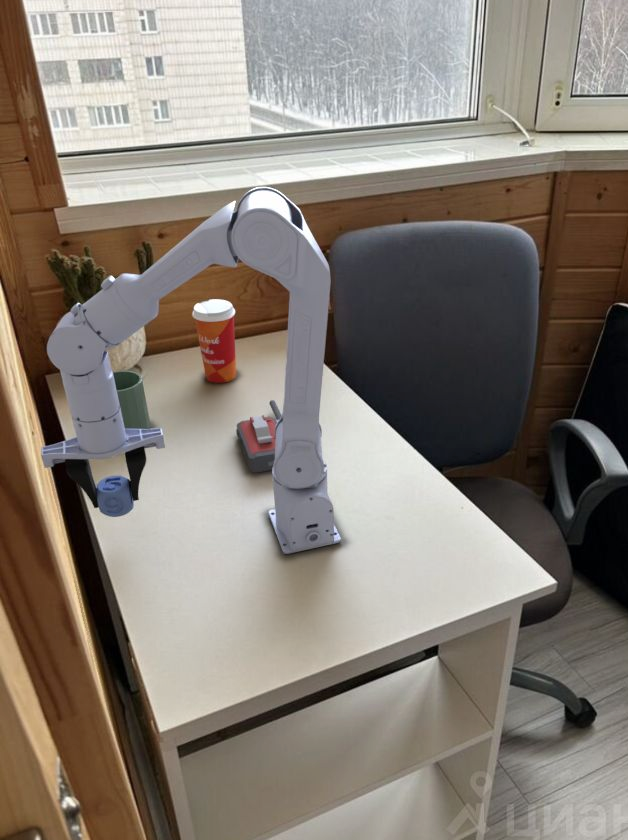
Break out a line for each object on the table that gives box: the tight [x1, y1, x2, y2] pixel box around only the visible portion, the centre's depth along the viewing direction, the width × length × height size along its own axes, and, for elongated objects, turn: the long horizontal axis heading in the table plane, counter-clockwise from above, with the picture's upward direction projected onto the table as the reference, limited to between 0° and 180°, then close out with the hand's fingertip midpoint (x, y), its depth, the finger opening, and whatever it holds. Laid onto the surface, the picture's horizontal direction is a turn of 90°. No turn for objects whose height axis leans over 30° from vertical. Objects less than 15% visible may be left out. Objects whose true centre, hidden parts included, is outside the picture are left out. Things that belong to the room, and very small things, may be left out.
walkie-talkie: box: [235, 399, 282, 474], centre depth 117 cm, size 9×4×20 cm
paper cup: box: [191, 298, 237, 384], centre depth 133 cm, size 8×8×14 cm
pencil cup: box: [112, 370, 152, 429], centre depth 118 cm, size 7×7×10 cm
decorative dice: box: [96, 475, 135, 518], centre depth 95 cm, size 4×4×4 cm
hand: (116, 499), depth 95 cm, fingers closed on decorative dice, 4 cm apart
